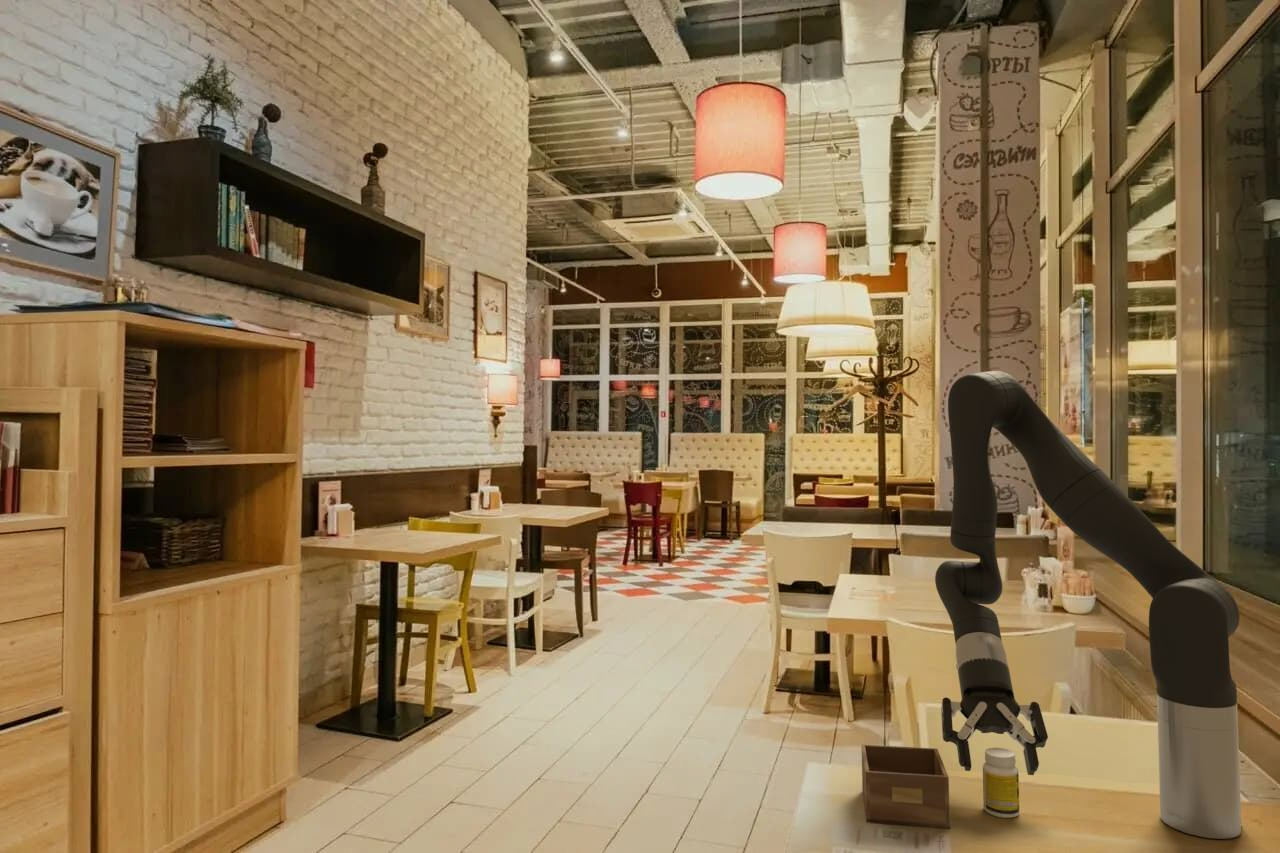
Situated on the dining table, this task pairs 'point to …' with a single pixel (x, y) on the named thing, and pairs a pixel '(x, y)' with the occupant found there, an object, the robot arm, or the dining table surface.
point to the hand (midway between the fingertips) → (1000, 770)
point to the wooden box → (905, 786)
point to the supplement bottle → (1000, 783)
